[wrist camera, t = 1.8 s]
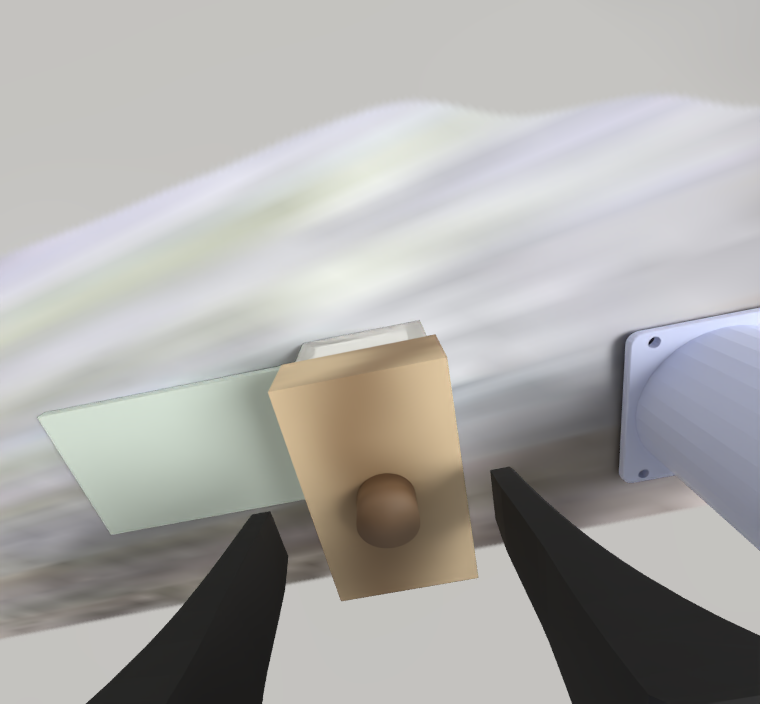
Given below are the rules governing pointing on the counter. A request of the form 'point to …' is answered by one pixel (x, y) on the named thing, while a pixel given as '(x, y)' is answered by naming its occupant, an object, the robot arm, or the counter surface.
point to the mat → (178, 452)
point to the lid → (380, 465)
